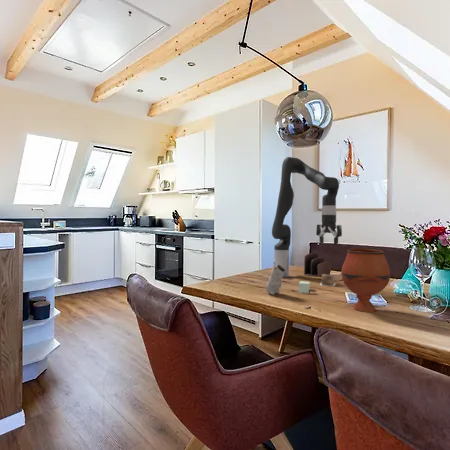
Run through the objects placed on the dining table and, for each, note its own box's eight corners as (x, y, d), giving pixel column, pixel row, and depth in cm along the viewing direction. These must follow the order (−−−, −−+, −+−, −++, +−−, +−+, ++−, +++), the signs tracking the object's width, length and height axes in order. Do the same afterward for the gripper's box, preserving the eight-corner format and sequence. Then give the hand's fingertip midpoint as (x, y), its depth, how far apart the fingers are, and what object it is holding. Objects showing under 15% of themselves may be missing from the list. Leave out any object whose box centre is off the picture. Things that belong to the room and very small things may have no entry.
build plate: (301, 287, 180) (301, 285, 180) (305, 282, 195) (305, 280, 195) (340, 291, 173) (340, 288, 173) (341, 284, 187) (341, 282, 187)
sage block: (298, 292, 169) (298, 283, 169) (300, 290, 174) (300, 281, 174) (308, 293, 167) (308, 283, 167) (310, 291, 172) (310, 282, 172)
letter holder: (303, 275, 217) (304, 254, 217) (317, 271, 232) (317, 251, 232) (318, 277, 211) (318, 255, 210) (330, 273, 226) (331, 252, 225)
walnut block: (321, 284, 182) (321, 275, 182) (322, 282, 187) (322, 273, 187) (333, 285, 180) (333, 276, 179) (333, 283, 185) (333, 274, 185)
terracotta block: (331, 282, 194) (331, 274, 194) (329, 281, 199) (330, 272, 199) (340, 282, 194) (340, 274, 193) (338, 281, 199) (338, 272, 198)
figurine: (273, 297, 160) (274, 266, 159) (262, 292, 169) (262, 263, 168) (288, 295, 164) (288, 264, 163) (276, 291, 173) (276, 262, 172)
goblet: (365, 318, 127) (366, 253, 126) (330, 305, 145) (331, 248, 144) (400, 312, 135) (401, 251, 134) (363, 301, 152) (364, 247, 152)
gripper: (313, 214, 183) (313, 243, 184) (336, 214, 172) (336, 245, 173) (321, 214, 188) (321, 242, 188) (344, 214, 177) (344, 244, 177)
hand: (328, 244), depth 180 cm, fingers open, 8 cm apart
